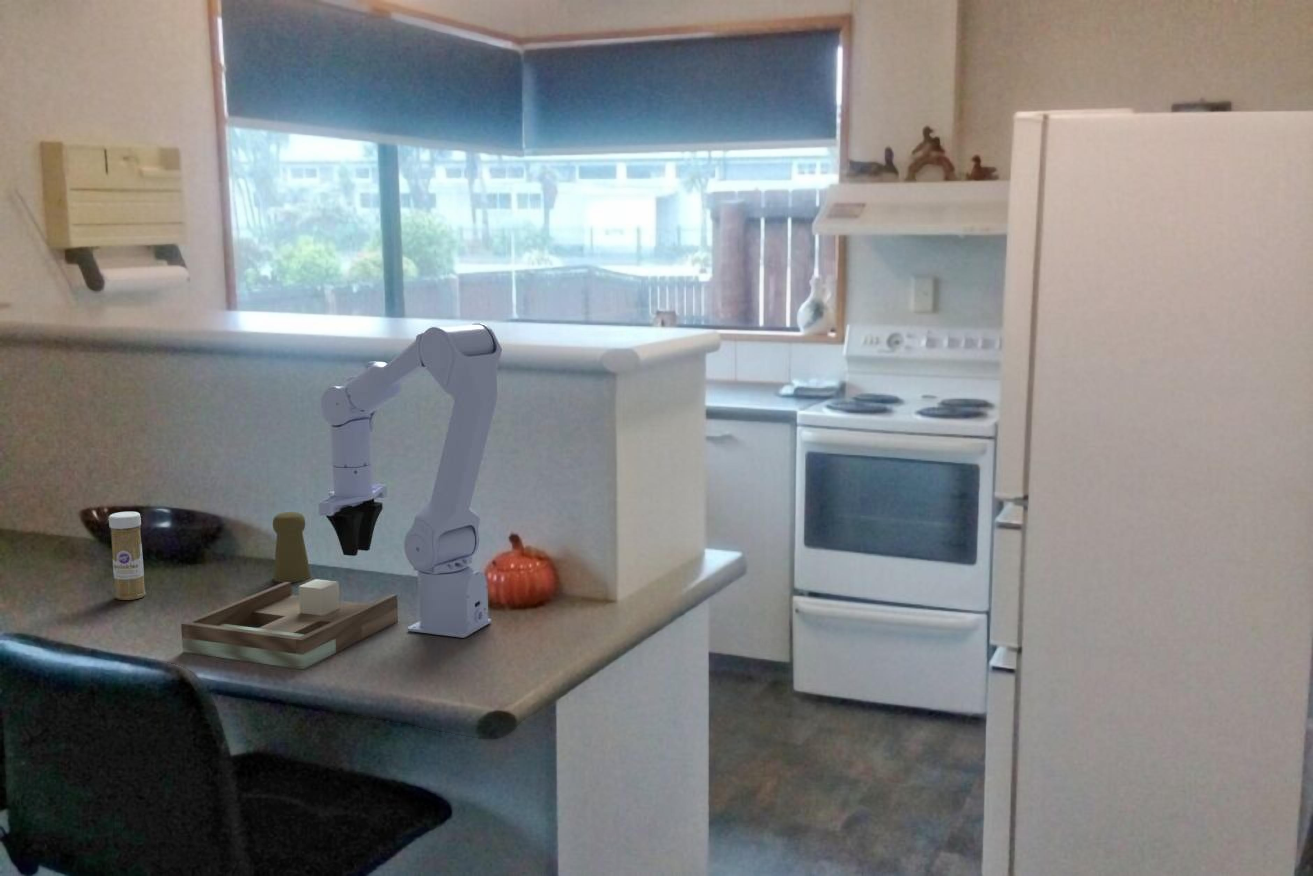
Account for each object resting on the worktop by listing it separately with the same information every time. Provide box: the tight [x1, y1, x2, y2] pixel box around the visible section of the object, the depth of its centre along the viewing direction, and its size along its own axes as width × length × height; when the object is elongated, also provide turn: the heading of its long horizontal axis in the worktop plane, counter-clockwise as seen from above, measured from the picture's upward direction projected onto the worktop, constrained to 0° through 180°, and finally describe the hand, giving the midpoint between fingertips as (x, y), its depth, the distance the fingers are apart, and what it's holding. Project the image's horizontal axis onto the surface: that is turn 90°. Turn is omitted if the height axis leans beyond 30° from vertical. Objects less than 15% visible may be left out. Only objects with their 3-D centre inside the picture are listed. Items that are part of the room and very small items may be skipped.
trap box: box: [180, 582, 399, 670], centre depth 175 cm, size 20×22×4 cm
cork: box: [272, 511, 312, 584], centre depth 205 cm, size 6×6×11 cm
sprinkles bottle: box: [108, 511, 147, 601], centre depth 194 cm, size 5×5×13 cm
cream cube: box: [298, 578, 340, 616], centre depth 180 cm, size 4×4×4 cm
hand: (356, 552), depth 188 cm, fingers open, 3 cm apart
